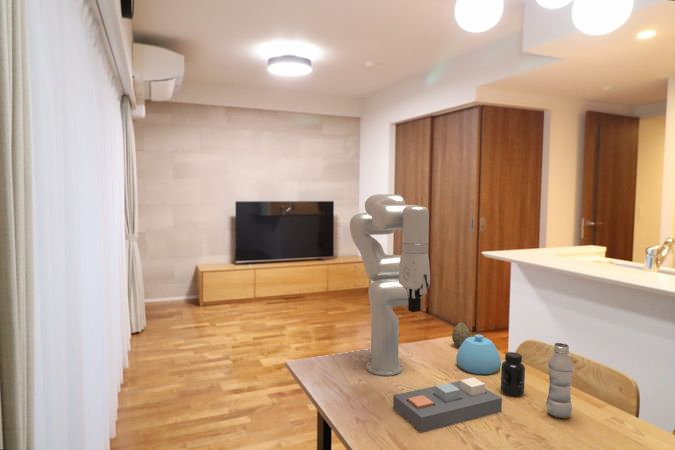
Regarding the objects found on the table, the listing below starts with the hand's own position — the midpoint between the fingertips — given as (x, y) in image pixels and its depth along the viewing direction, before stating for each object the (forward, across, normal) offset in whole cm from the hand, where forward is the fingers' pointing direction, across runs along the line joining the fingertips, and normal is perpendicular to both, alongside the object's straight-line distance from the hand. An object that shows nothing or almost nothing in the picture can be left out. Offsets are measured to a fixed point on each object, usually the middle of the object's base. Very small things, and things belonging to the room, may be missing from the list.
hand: (414, 310), depth 133 cm
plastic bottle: (+27, +24, +32) cm, 48 cm away
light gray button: (+25, +9, +6) cm, 27 cm away
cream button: (+25, +9, +14) cm, 30 cm away
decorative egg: (+27, -31, +43) cm, 60 cm away
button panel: (+27, +9, +6) cm, 29 cm away
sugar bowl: (+27, -12, +35) cm, 46 cm away
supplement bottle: (+27, +8, +31) cm, 42 cm away
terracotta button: (+27, +9, -4) cm, 29 cm away
